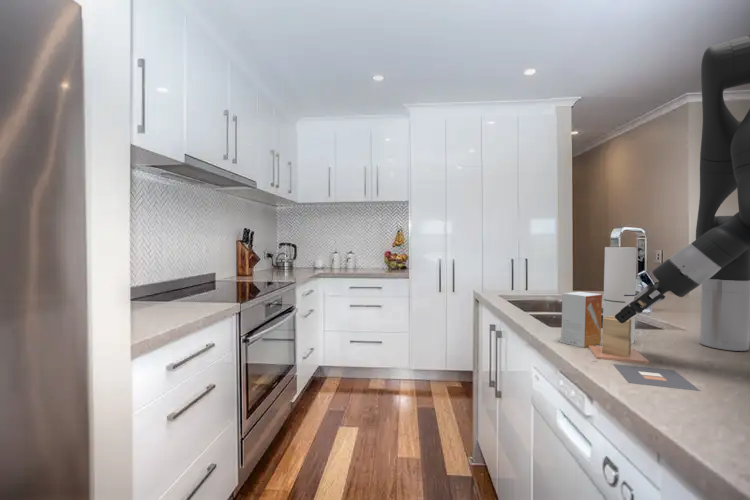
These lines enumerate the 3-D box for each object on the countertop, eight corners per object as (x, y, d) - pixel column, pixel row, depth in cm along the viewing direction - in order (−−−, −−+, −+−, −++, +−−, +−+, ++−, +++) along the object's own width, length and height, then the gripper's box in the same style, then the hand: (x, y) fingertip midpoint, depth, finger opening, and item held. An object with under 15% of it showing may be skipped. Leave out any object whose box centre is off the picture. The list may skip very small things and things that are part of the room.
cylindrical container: (640, 344, 100) (643, 247, 100) (612, 343, 100) (615, 247, 100) (623, 337, 107) (625, 247, 107) (597, 337, 107) (599, 247, 107)
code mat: (612, 364, 83) (612, 363, 83) (673, 370, 80) (673, 369, 80) (628, 383, 72) (628, 382, 72) (700, 391, 68) (700, 390, 68)
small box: (584, 348, 96) (585, 296, 95) (560, 342, 101) (561, 293, 101) (601, 344, 100) (602, 293, 100) (577, 338, 105) (578, 291, 105)
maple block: (605, 348, 93) (606, 315, 93) (630, 352, 90) (631, 318, 90) (602, 353, 90) (602, 318, 89) (627, 357, 86) (628, 321, 86)
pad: (588, 347, 96) (588, 345, 96) (634, 351, 93) (635, 349, 93) (596, 359, 87) (596, 356, 87) (648, 364, 84) (649, 361, 84)
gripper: (671, 256, 89) (612, 300, 97) (668, 258, 78) (602, 308, 86) (701, 281, 86) (637, 324, 93) (702, 287, 75) (630, 336, 82)
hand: (620, 317), depth 90 cm, fingers open, 8 cm apart
